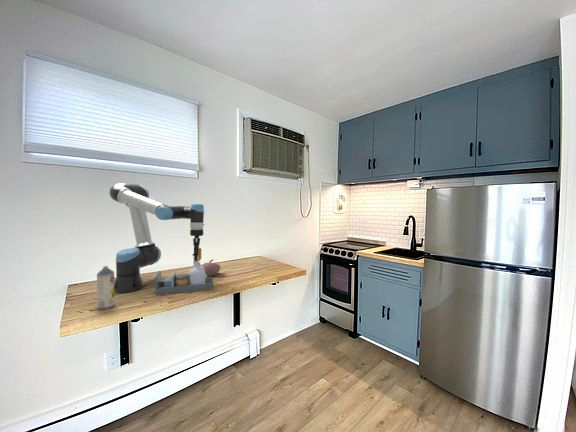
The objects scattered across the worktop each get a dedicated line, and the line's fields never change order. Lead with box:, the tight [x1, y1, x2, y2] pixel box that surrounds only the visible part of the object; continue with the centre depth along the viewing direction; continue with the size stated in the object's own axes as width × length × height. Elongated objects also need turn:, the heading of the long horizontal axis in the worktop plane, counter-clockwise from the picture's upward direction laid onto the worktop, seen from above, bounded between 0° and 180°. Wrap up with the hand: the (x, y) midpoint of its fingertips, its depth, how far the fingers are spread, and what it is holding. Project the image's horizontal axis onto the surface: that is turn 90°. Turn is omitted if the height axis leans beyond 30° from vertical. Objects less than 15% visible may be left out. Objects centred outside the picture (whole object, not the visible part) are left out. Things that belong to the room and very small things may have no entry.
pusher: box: [163, 271, 177, 288], centre depth 139 cm, size 5×10×9 cm, turn 20°
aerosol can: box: [96, 265, 116, 310], centre depth 115 cm, size 7×7×20 cm
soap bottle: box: [188, 247, 206, 285], centre depth 144 cm, size 9×9×25 cm
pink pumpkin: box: [202, 259, 221, 277], centre depth 168 cm, size 12×12×12 cm
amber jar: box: [175, 273, 189, 286], centre depth 141 cm, size 8×8×8 cm
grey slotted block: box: [154, 270, 214, 296], centre depth 142 cm, size 31×13×10 cm, turn 110°
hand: (196, 263), depth 143 cm, fingers open, 13 cm apart
